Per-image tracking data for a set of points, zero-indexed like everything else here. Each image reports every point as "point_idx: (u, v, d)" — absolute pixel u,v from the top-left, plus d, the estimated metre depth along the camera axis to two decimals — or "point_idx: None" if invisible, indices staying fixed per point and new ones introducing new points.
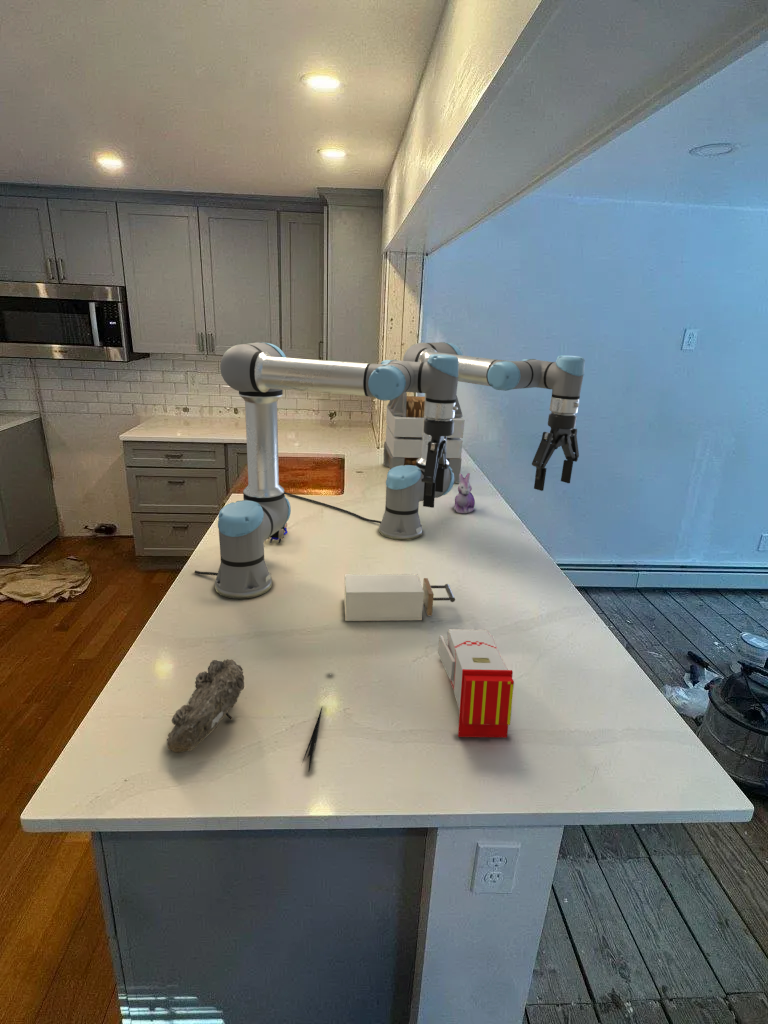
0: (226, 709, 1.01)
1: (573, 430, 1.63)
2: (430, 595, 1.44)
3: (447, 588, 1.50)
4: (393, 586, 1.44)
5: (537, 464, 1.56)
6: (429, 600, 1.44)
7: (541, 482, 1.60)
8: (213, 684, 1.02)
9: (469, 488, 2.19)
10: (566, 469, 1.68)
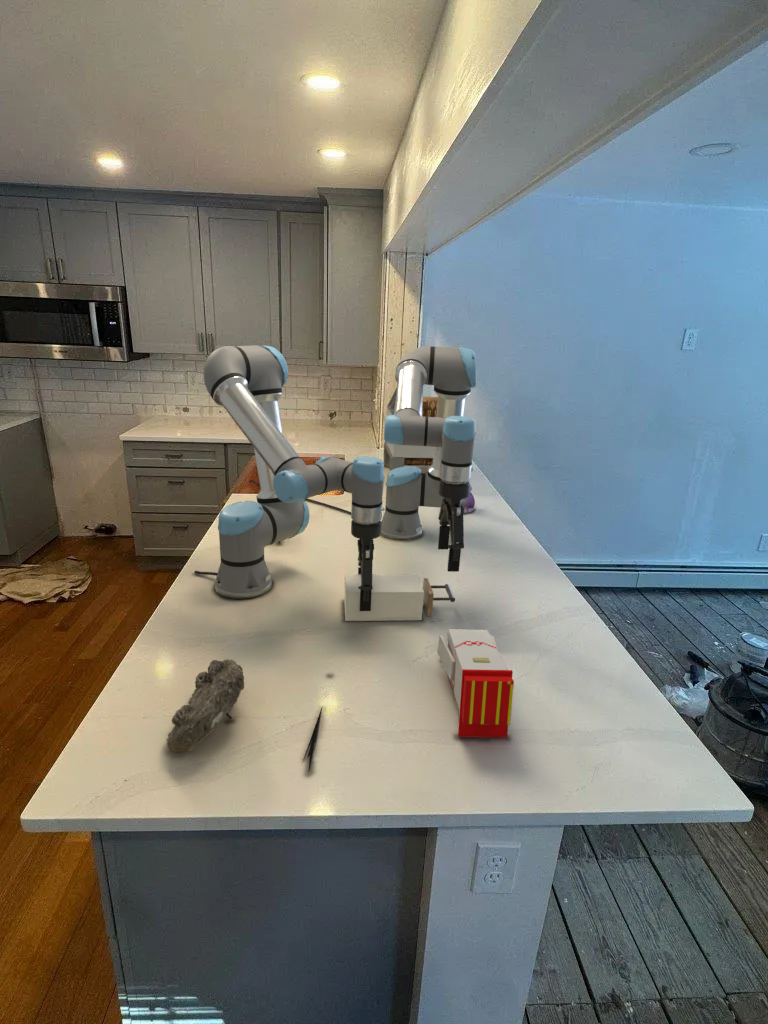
0: (226, 709, 1.01)
1: None
2: (430, 595, 1.44)
3: (447, 588, 1.50)
4: (393, 586, 1.44)
5: (461, 546, 1.34)
6: (429, 600, 1.44)
7: (457, 562, 1.39)
8: (213, 684, 1.02)
9: None
10: (444, 535, 1.51)
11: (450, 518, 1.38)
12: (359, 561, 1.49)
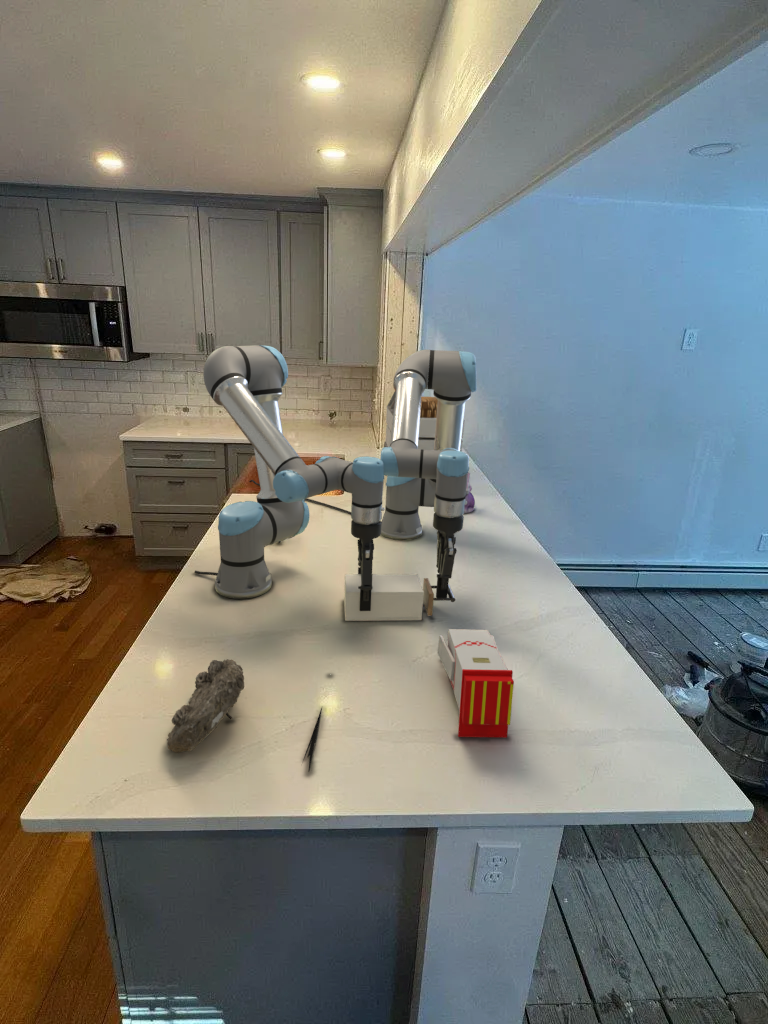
0: (226, 709, 1.01)
1: None
2: (430, 595, 1.44)
3: None
4: (393, 586, 1.44)
5: (449, 576, 1.43)
6: (429, 600, 1.44)
7: (445, 590, 1.48)
8: (213, 684, 1.02)
9: (469, 488, 2.19)
10: None
11: (442, 552, 1.43)
12: (359, 561, 1.49)
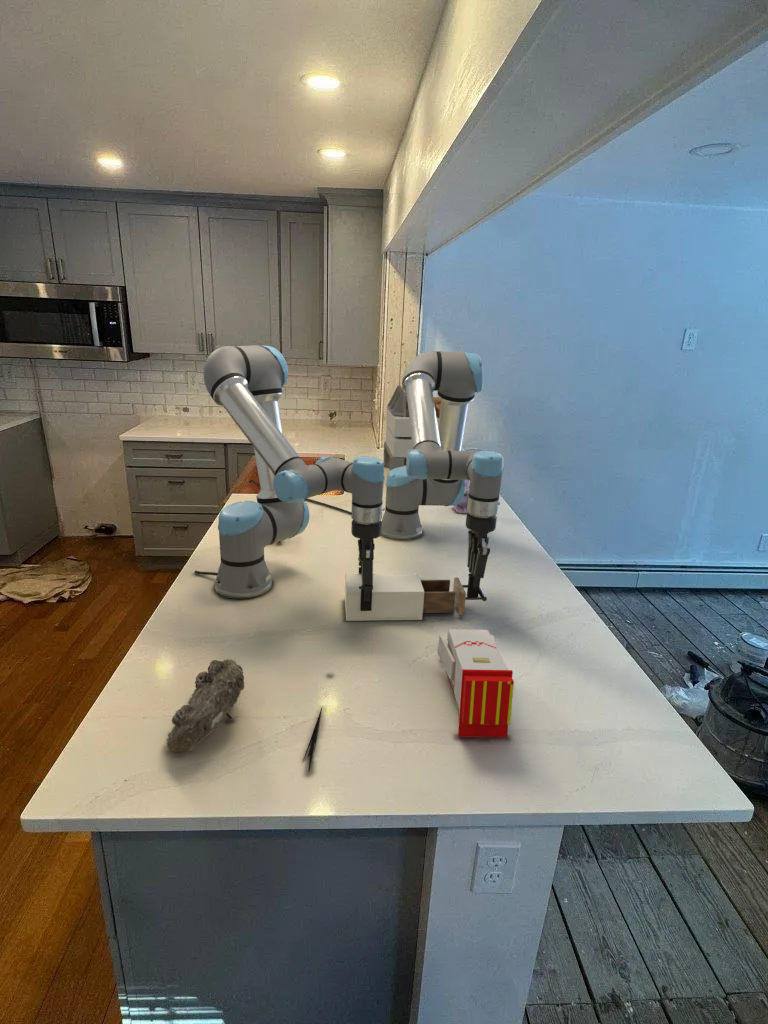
0: (226, 709, 1.01)
1: None
2: (462, 594, 1.44)
3: None
4: (394, 586, 1.44)
5: (481, 576, 1.44)
6: (461, 599, 1.45)
7: (477, 590, 1.49)
8: (213, 684, 1.02)
9: (469, 488, 2.19)
10: None
11: (475, 552, 1.44)
12: (359, 561, 1.49)
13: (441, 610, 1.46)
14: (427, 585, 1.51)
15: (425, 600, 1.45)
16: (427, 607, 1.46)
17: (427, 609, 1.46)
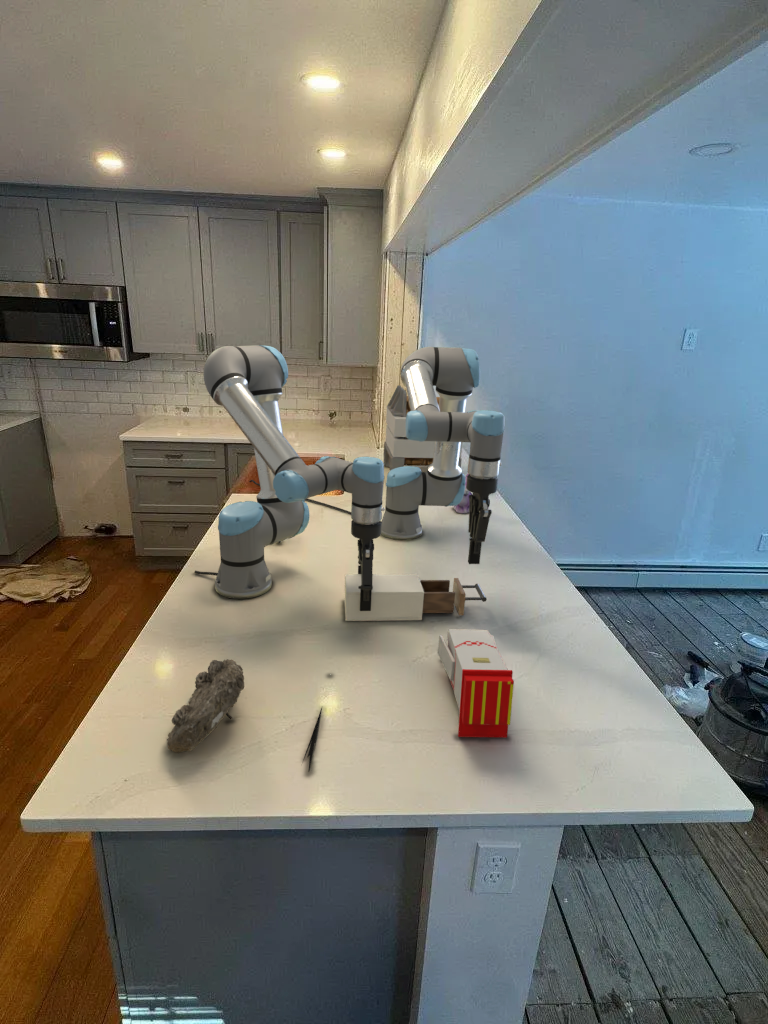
0: (226, 709, 1.01)
1: None
2: (462, 595, 1.44)
3: (478, 588, 1.51)
4: (393, 586, 1.44)
5: (482, 539, 1.41)
6: (461, 600, 1.45)
7: (478, 555, 1.45)
8: (213, 684, 1.02)
9: None
10: None
11: (476, 515, 1.40)
12: (359, 560, 1.49)
13: (441, 610, 1.46)
14: (427, 586, 1.51)
15: (425, 600, 1.45)
16: (427, 608, 1.46)
17: (427, 610, 1.46)
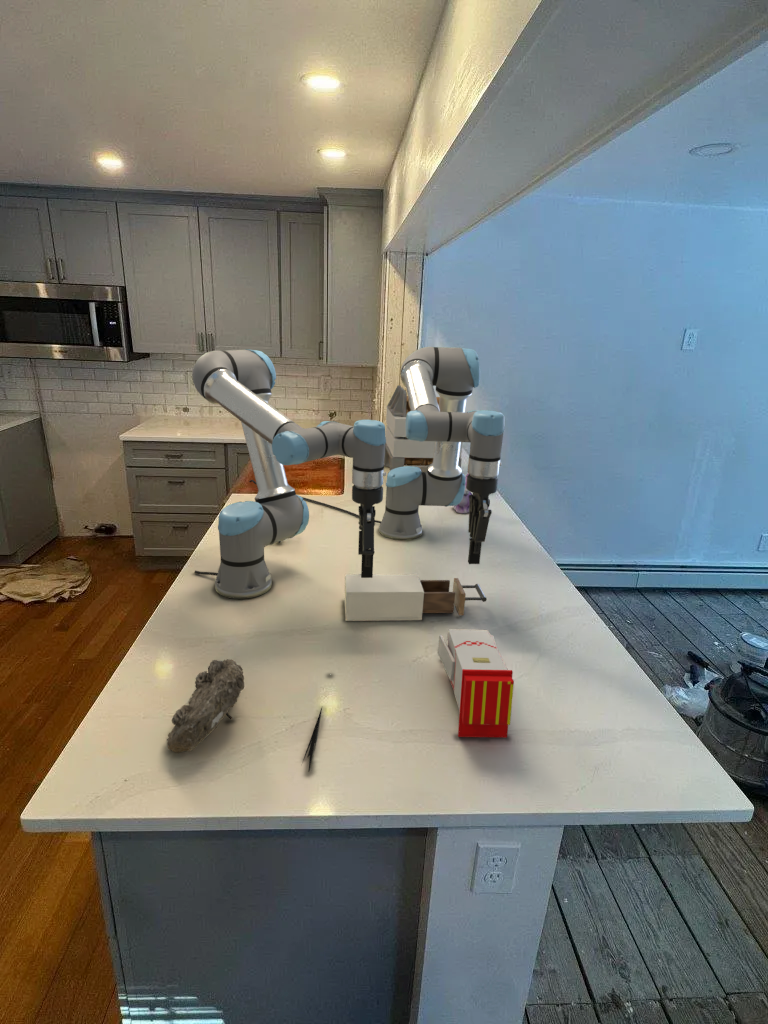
0: (226, 709, 1.01)
1: None
2: (462, 595, 1.44)
3: (478, 588, 1.51)
4: (393, 586, 1.44)
5: (482, 539, 1.41)
6: (461, 600, 1.45)
7: (478, 555, 1.45)
8: (213, 684, 1.02)
9: None
10: None
11: (476, 515, 1.40)
12: (360, 525, 1.46)
13: (441, 610, 1.46)
14: (427, 586, 1.51)
15: (425, 600, 1.45)
16: (427, 608, 1.46)
17: (427, 610, 1.46)
